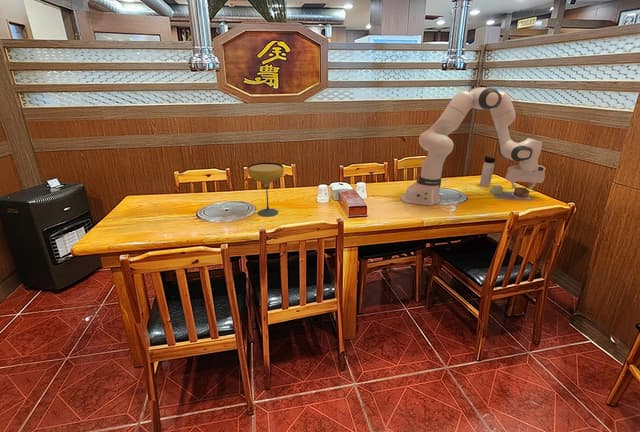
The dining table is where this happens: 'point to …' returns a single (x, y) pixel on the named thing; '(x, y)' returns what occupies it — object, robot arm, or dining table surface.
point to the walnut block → (521, 192)
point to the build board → (510, 196)
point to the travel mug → (487, 171)
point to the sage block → (497, 189)
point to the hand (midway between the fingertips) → (521, 188)
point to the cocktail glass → (266, 180)
